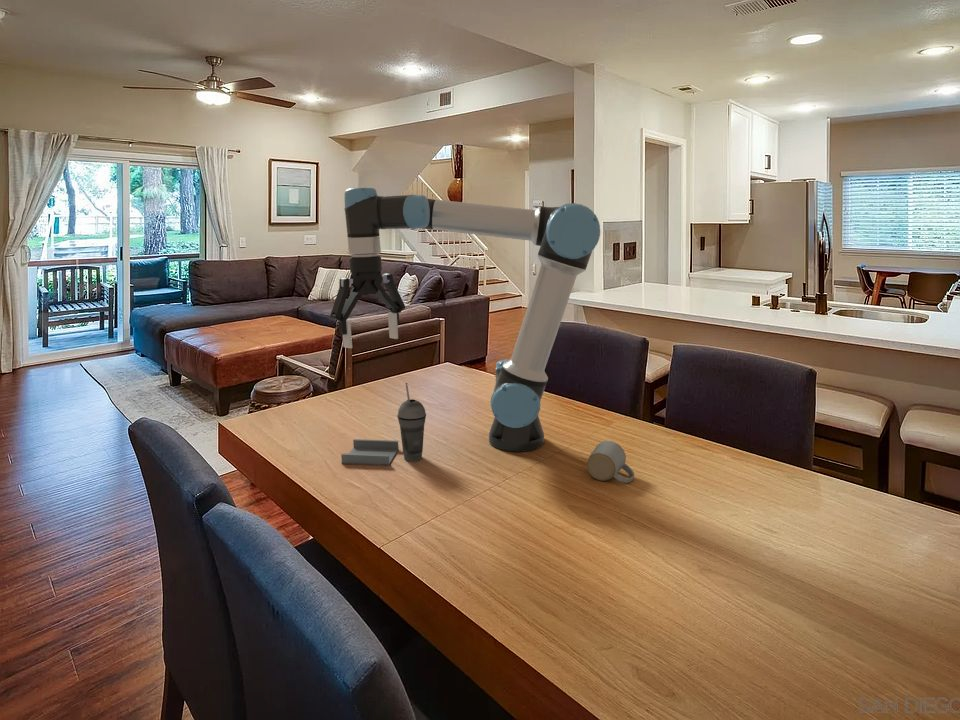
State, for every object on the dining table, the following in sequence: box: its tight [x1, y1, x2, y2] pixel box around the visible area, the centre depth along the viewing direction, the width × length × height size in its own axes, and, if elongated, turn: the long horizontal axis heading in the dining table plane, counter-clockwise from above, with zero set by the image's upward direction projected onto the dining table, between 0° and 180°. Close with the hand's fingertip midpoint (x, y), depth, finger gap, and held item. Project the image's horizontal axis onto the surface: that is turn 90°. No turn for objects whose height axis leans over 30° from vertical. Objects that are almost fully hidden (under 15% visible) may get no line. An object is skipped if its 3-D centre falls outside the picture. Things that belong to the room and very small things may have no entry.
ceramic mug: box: [586, 440, 635, 484], centre depth 138 cm, size 11×8×8 cm
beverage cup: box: [397, 382, 427, 463], centre depth 148 cm, size 7×7×20 cm
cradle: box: [340, 438, 400, 467], centre depth 151 cm, size 12×11×2 cm
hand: (371, 342), depth 144 cm, fingers open, 13 cm apart
